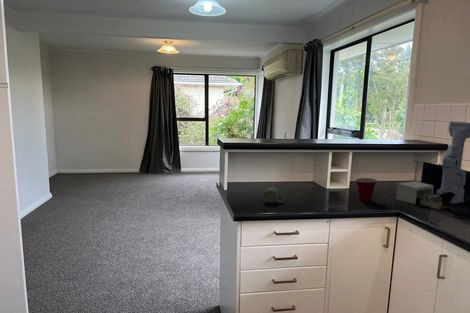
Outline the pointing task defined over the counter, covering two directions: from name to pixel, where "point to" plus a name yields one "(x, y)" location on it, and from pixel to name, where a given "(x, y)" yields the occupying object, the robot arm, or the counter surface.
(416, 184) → the grey rectangular box
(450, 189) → the robot arm
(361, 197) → the plastic cup
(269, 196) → the ceramic mug
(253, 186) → the counter surface
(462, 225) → the counter surface
